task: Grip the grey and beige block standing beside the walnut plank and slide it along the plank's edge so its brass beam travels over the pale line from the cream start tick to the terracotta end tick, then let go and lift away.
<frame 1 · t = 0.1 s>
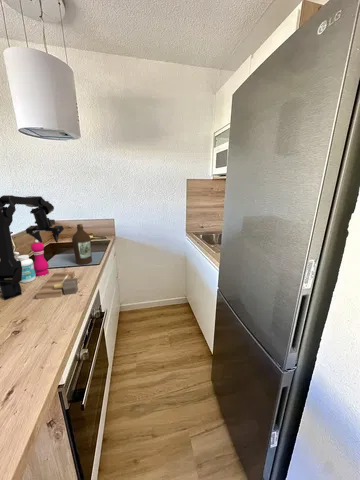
hand: (49, 242, 125), 15 cm above the countertop, tool pointing down, fingers open, 9 cm apart
grey and beige block: (71, 292, 98), on the countertop
plank: (57, 285, 104), on the countertop
olive oil: (84, 262, 136), on the countertop
pepper mill: (42, 274, 118), on the countertop
pill bottle: (27, 280, 110), on the countertop
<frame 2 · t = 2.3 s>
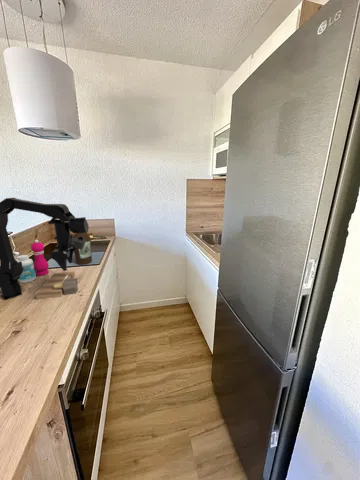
hand: (67, 266, 95), 13 cm above the countertop, tool pointing down, fingers open, 9 cm apart
nothing on the countertop moved.
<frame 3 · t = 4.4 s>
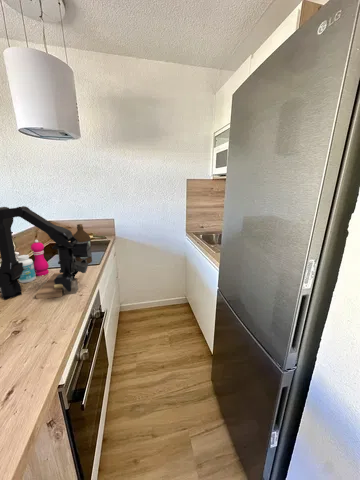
hand: (70, 289, 98), 2 cm above the countertop, tool pointing down, fingers closed on grey and beige block, 4 cm apart
grey and beige block: (71, 292, 98), on the countertop, touching gripper
everything else where it was.
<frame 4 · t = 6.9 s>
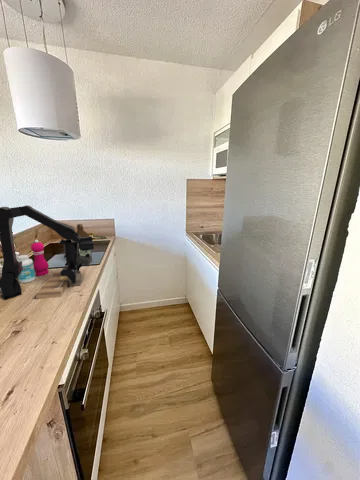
hand: (75, 281, 105), 2 cm above the countertop, tool pointing down, fingers closed on grey and beige block, 4 cm apart
grey and beige block: (75, 284, 106), on the countertop, touching gripper
everything else where it was.
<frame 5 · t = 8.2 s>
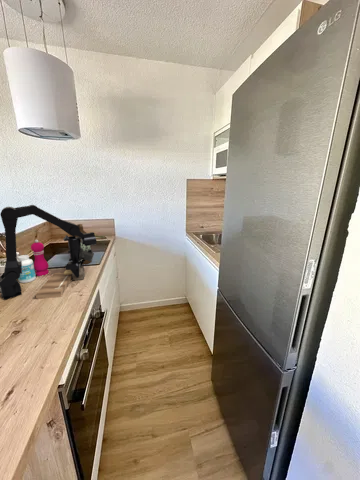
hand: (78, 275, 111), 2 cm above the countertop, tool pointing down, fingers closed on grey and beige block, 4 cm apart
grey and beige block: (79, 278, 112), on the countertop, touching gripper
everything else where it was.
when the fingers open (2 cm above the countertop, at t = 9.5 s): grey and beige block stays where it is, on the countertop.
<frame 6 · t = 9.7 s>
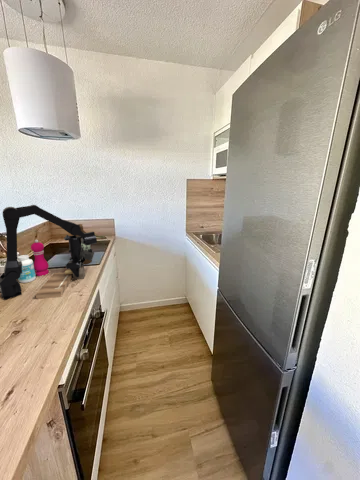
hand: (79, 274, 113), 2 cm above the countertop, tool pointing down, fingers open, 6 cm apart
grey and beige block: (79, 277, 113), on the countertop
everything else where it was.
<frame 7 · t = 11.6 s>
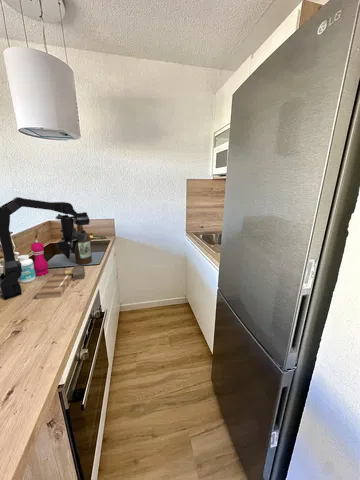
hand: (71, 256, 111), 12 cm above the countertop, tool pointing down, fingers open, 9 cm apart
nothing on the countertop moved.
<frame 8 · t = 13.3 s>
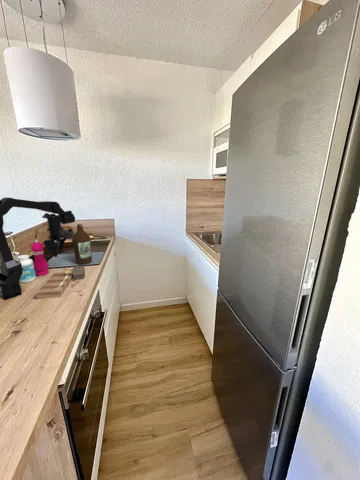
hand: (59, 254, 113), 13 cm above the countertop, tool pointing down, fingers open, 9 cm apart
nothing on the countertop moved.
at the end: grey and beige block 0.1 cm from the target spot on the countertop beside the plank, on the countertop; grey and beige block tilted 0°; the gripper is holding nothing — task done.
